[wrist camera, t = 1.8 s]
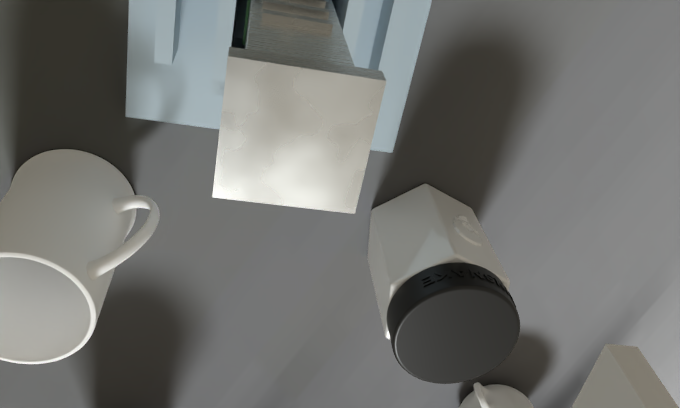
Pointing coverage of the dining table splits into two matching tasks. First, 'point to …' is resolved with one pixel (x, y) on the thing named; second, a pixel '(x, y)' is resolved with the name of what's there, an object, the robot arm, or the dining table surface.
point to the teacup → (495, 397)
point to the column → (295, 110)
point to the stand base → (227, 31)
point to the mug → (62, 251)
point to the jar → (440, 287)
